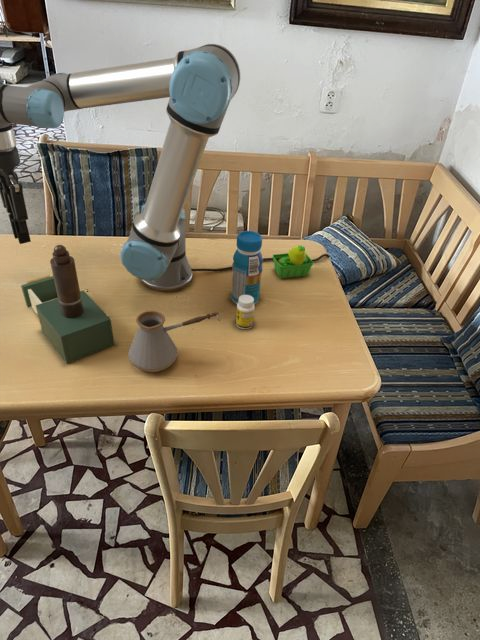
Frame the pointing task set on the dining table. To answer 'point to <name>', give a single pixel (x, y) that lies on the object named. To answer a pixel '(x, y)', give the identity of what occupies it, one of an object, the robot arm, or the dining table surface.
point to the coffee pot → (156, 341)
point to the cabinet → (76, 329)
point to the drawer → (39, 291)
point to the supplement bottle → (245, 312)
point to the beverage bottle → (247, 266)
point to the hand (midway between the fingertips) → (22, 239)
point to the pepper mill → (66, 283)
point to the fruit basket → (292, 263)
